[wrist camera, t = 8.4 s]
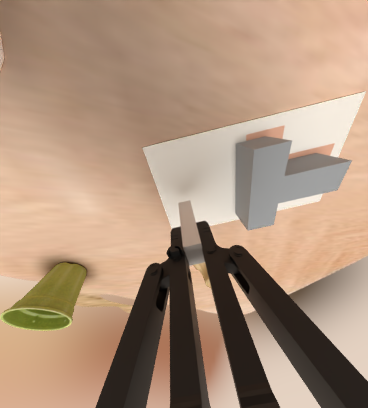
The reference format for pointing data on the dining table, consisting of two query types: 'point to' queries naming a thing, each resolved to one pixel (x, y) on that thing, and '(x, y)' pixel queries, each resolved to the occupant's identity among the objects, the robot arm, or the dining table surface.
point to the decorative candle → (1, 53)
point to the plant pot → (48, 300)
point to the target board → (226, 157)
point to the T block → (279, 178)
